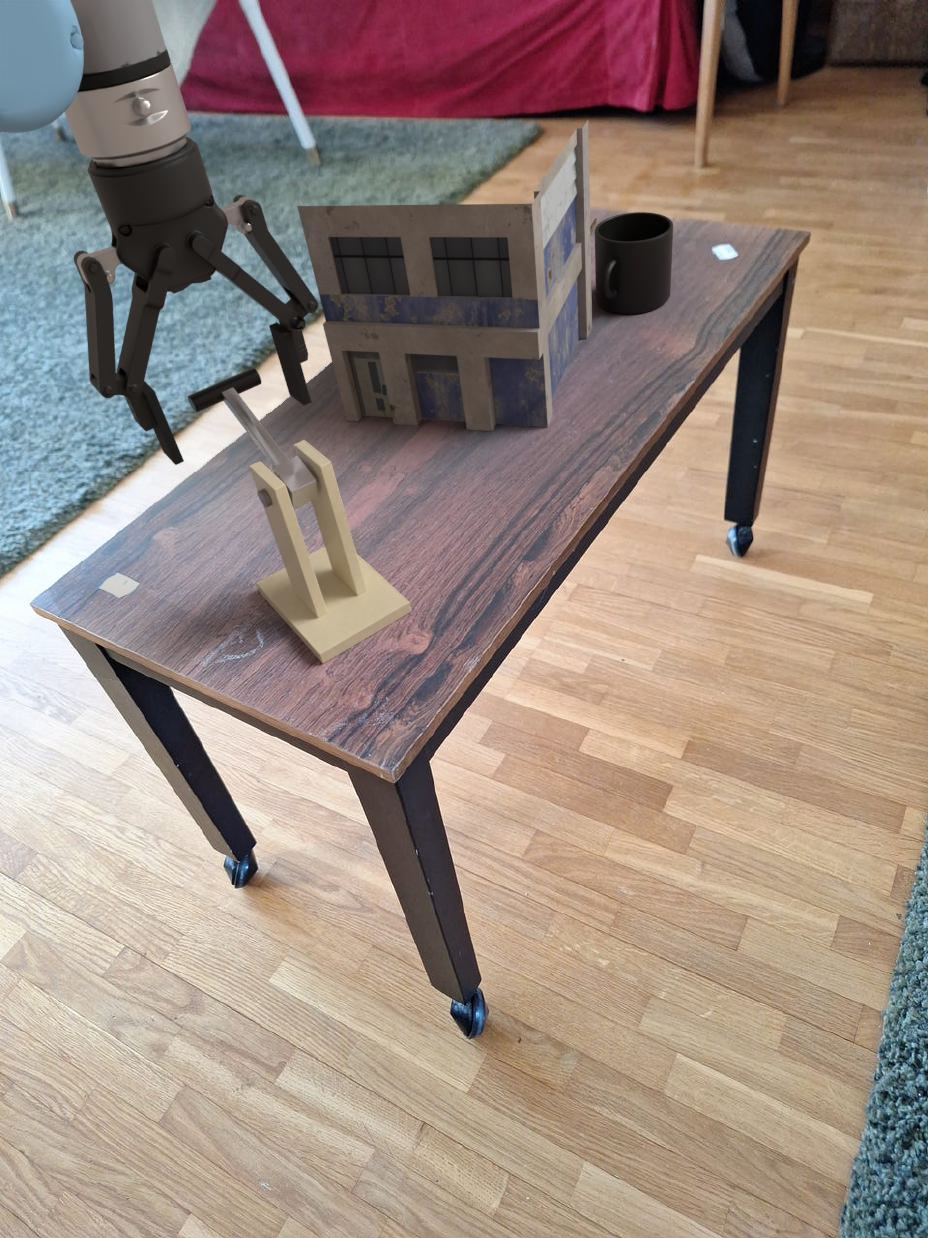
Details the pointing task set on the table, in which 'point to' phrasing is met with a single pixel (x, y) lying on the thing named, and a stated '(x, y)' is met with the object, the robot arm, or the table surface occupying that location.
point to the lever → (259, 434)
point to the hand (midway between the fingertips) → (239, 427)
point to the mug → (633, 262)
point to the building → (457, 300)
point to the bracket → (323, 567)
